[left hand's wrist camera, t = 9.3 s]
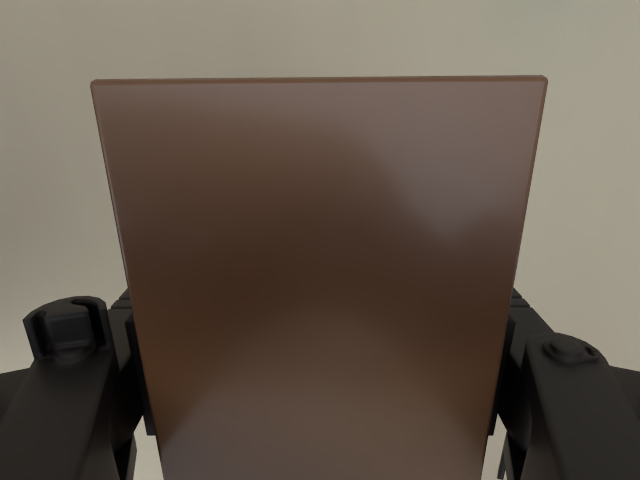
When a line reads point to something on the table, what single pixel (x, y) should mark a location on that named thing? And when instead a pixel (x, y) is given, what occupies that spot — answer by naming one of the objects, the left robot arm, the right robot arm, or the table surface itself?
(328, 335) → the post
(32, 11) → the table surface
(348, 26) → the table surface
